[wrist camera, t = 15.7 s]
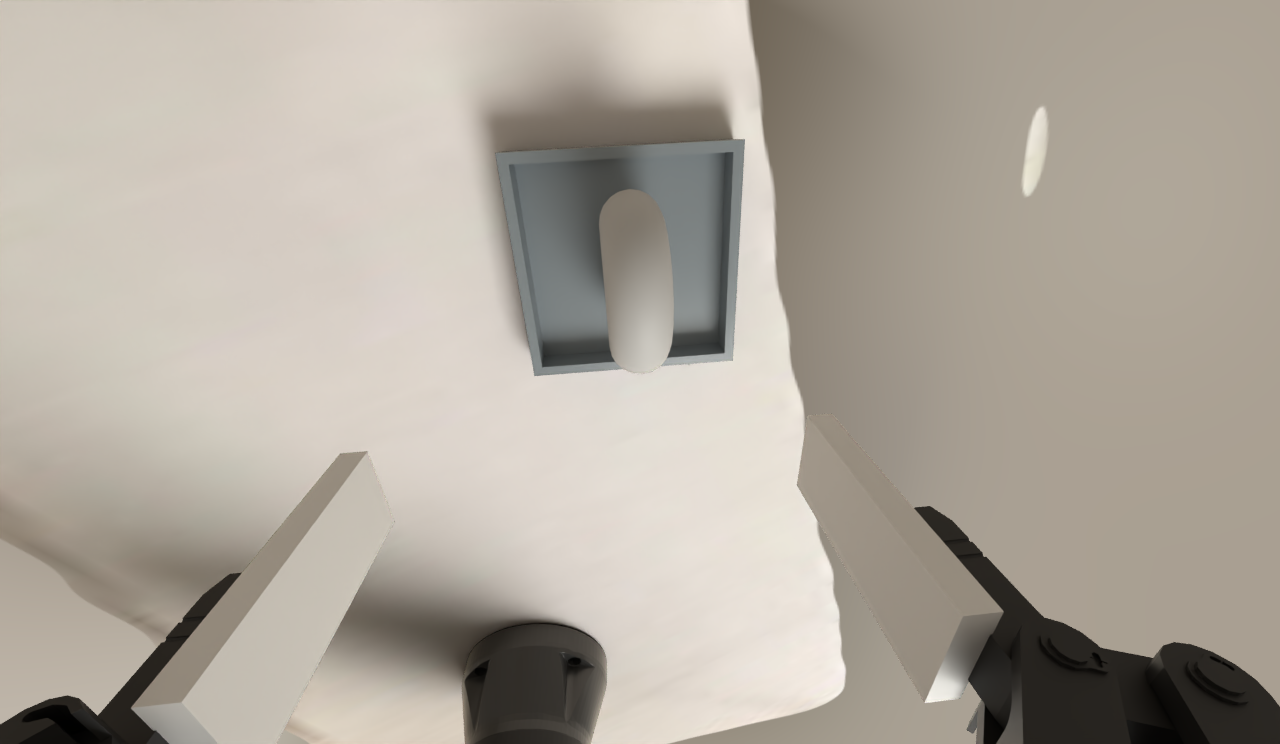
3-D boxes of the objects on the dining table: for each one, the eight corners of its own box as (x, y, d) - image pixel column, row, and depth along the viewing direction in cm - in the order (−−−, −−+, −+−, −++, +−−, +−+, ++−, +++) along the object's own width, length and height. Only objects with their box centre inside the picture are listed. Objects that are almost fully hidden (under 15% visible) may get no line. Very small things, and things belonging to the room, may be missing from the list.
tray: (724, 346, 34) (732, 360, 32) (538, 360, 33) (534, 375, 31) (733, 139, 27) (744, 139, 25) (503, 151, 27) (495, 153, 24)
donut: (657, 331, 32) (679, 406, 23) (608, 335, 32) (612, 412, 23) (652, 178, 27) (678, 199, 19) (595, 181, 27) (593, 204, 18)
